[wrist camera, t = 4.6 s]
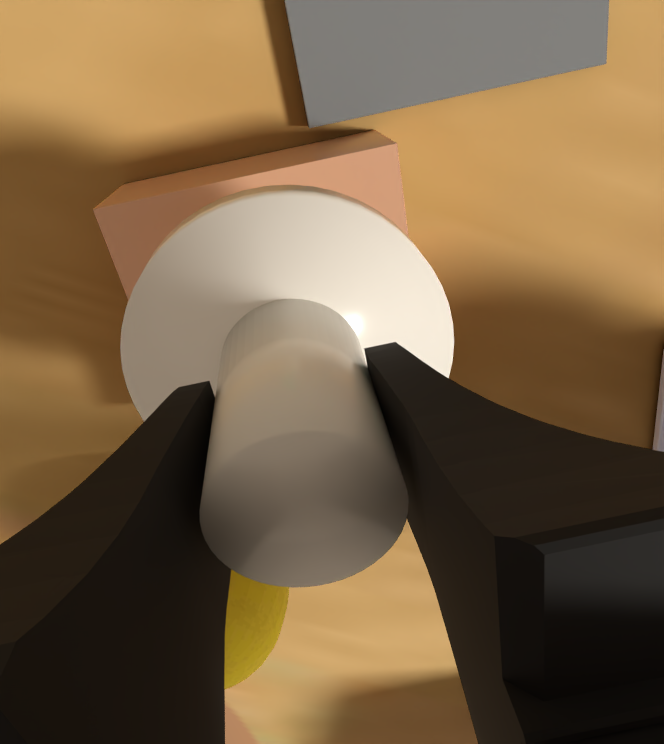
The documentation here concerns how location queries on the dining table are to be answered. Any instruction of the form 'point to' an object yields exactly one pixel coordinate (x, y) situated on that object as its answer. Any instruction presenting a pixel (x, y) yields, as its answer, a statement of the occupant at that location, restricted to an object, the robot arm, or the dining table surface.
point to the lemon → (251, 625)
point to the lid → (288, 371)
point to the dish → (207, 184)
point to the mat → (433, 49)
